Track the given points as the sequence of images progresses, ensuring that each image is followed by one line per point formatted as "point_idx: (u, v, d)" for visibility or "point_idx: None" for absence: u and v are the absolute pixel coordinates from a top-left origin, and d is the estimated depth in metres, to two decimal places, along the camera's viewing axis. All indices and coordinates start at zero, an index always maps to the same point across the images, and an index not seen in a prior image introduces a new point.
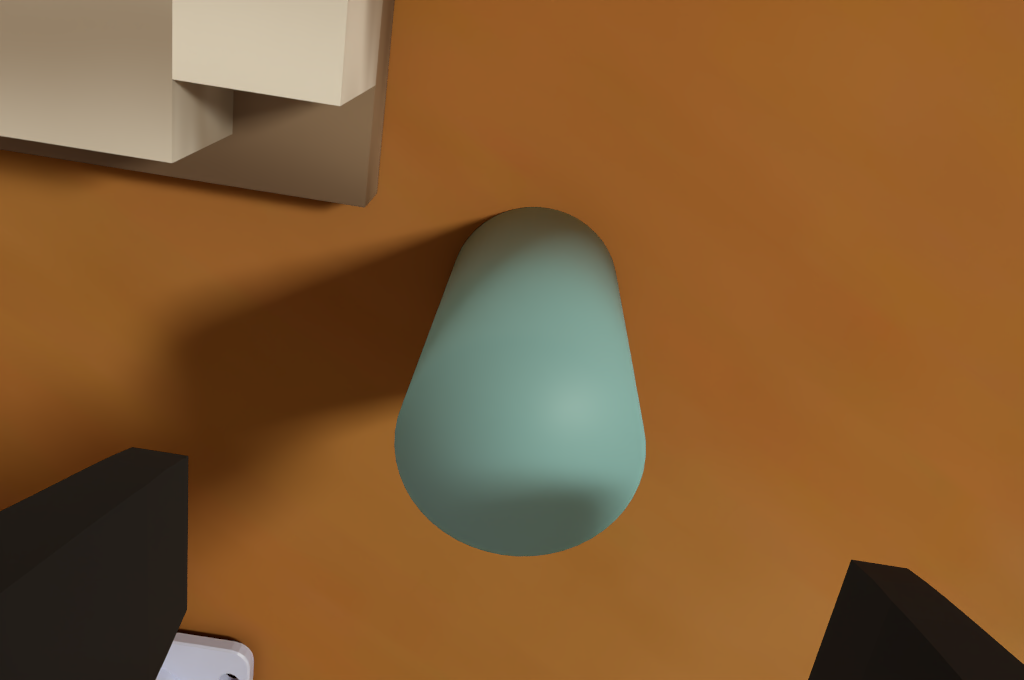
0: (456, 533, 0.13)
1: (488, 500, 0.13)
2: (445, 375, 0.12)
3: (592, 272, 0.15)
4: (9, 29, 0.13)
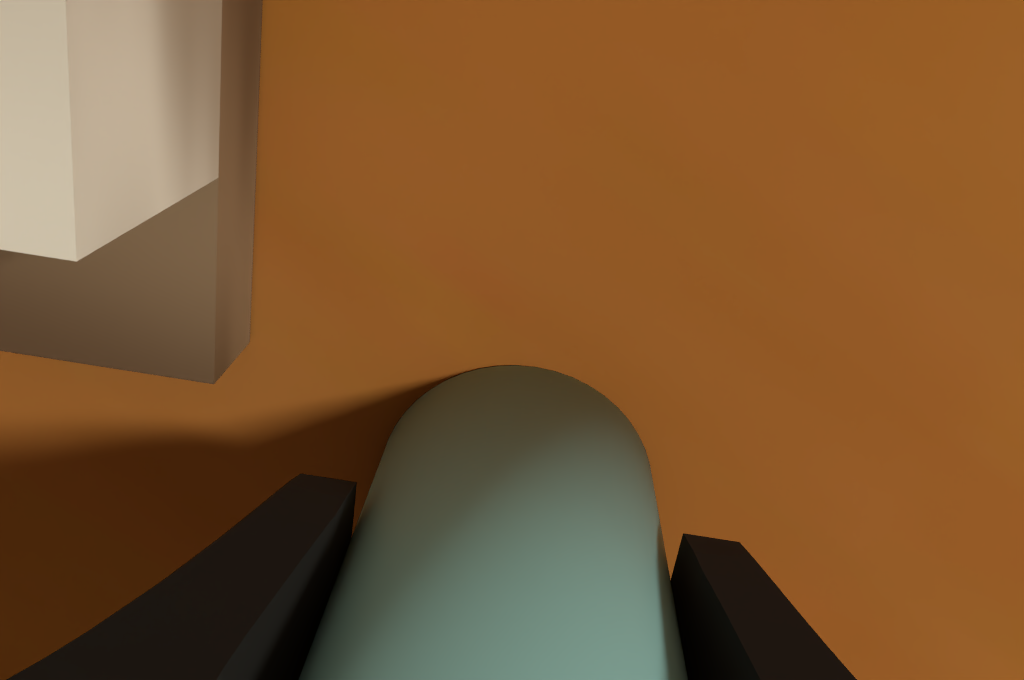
0: None
1: None
2: None
3: (619, 547, 0.08)
4: None
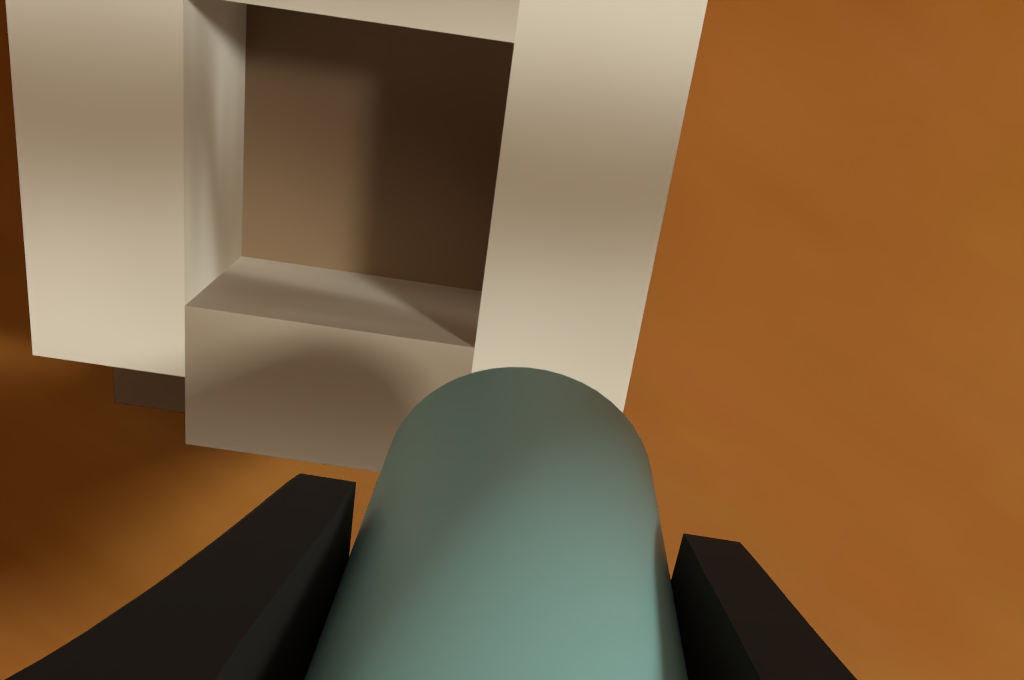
0: None
1: None
2: None
3: (609, 537, 0.08)
4: (321, 378, 0.15)
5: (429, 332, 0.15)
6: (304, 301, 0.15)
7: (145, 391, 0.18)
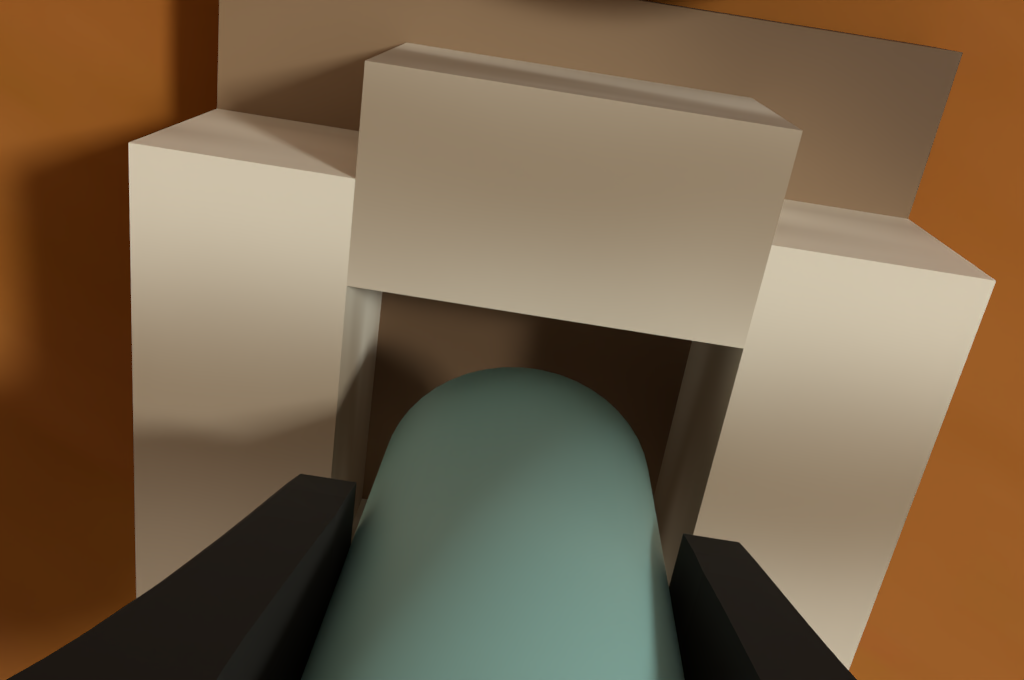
0: None
1: None
2: None
3: (602, 535, 0.08)
4: None
5: None
6: None
7: None
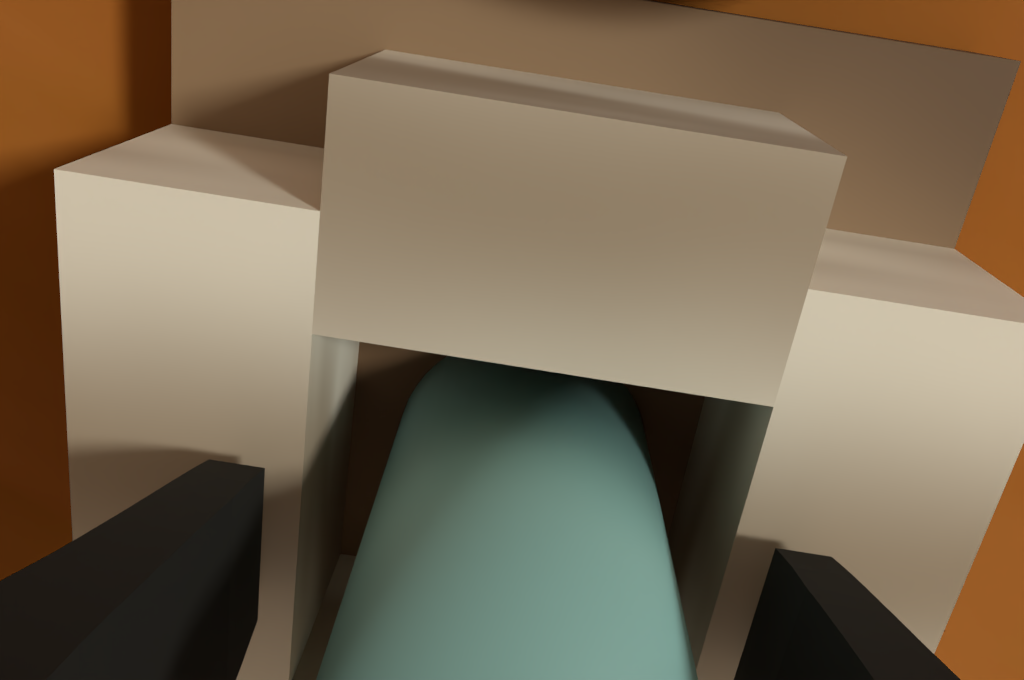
0: None
1: None
2: None
3: (606, 473, 0.09)
4: None
5: None
6: None
7: None
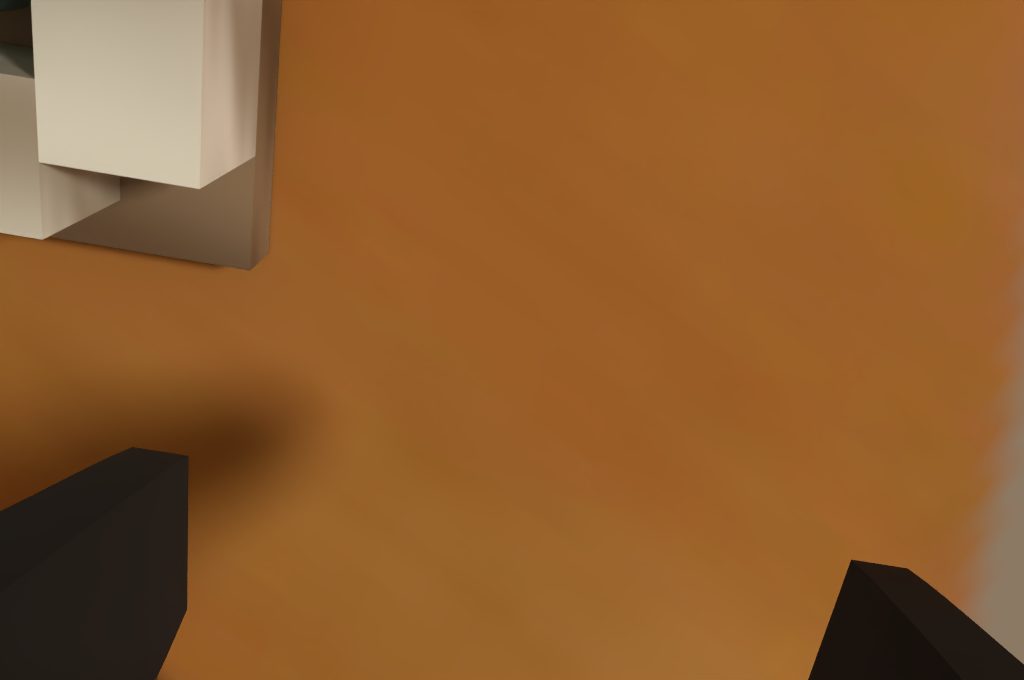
0: None
1: None
2: None
3: None
4: None
5: None
6: None
7: None
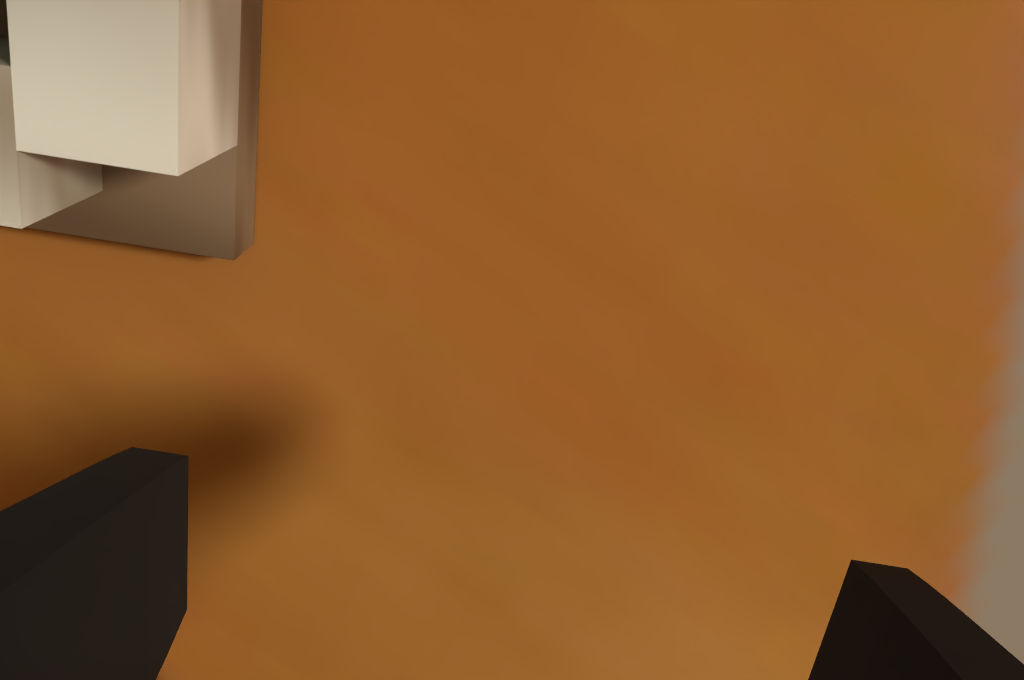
0: None
1: None
2: None
3: None
4: None
5: None
6: None
7: None
